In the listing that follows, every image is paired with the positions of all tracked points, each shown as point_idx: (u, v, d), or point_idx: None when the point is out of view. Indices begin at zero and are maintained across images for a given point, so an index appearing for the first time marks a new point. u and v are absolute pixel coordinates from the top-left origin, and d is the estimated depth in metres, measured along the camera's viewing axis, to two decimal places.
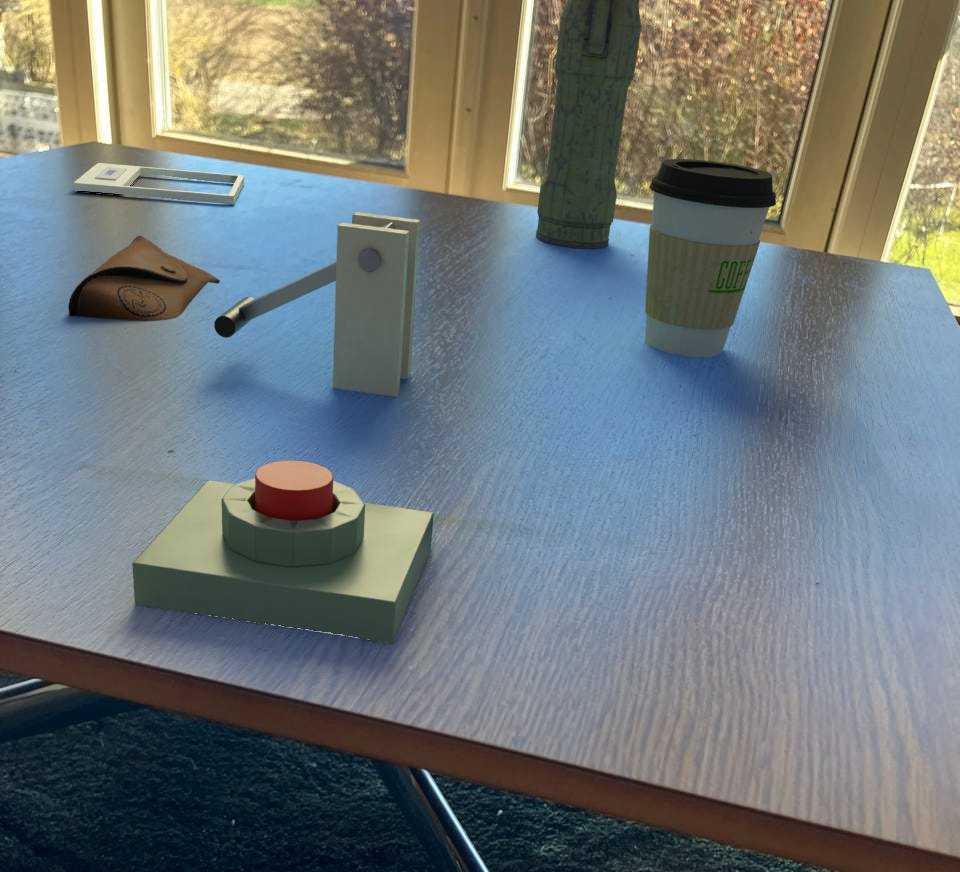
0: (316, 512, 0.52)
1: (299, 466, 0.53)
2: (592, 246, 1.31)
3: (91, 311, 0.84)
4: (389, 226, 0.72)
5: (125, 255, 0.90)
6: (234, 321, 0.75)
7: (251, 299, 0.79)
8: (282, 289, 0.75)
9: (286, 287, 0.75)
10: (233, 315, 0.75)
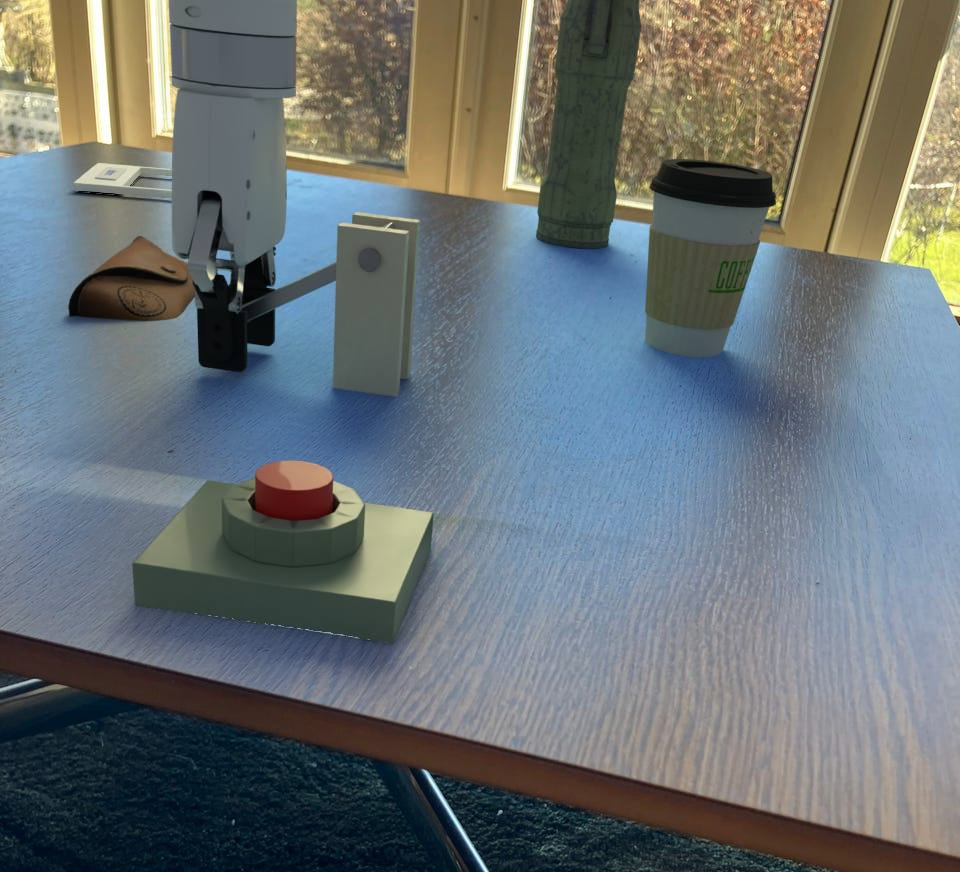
0: (316, 512, 0.52)
1: (299, 466, 0.53)
2: (592, 246, 1.31)
3: (91, 311, 0.84)
4: (389, 226, 0.72)
5: (125, 255, 0.90)
6: None
7: (251, 299, 0.79)
8: (282, 289, 0.75)
9: (286, 287, 0.75)
10: None
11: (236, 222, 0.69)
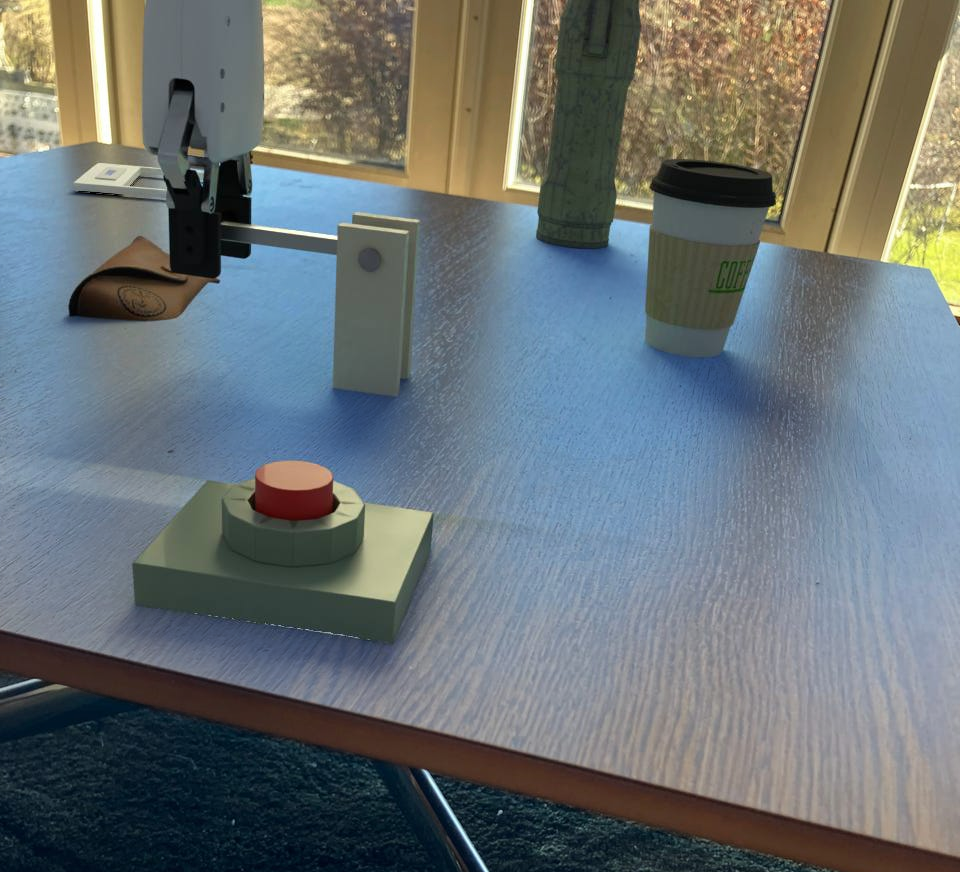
0: (316, 512, 0.52)
1: (299, 466, 0.53)
2: (592, 246, 1.31)
3: (91, 311, 0.84)
4: None
5: (125, 255, 0.90)
6: None
7: (233, 217, 0.76)
8: (271, 232, 0.73)
9: (276, 232, 0.73)
10: None
11: (210, 113, 0.66)
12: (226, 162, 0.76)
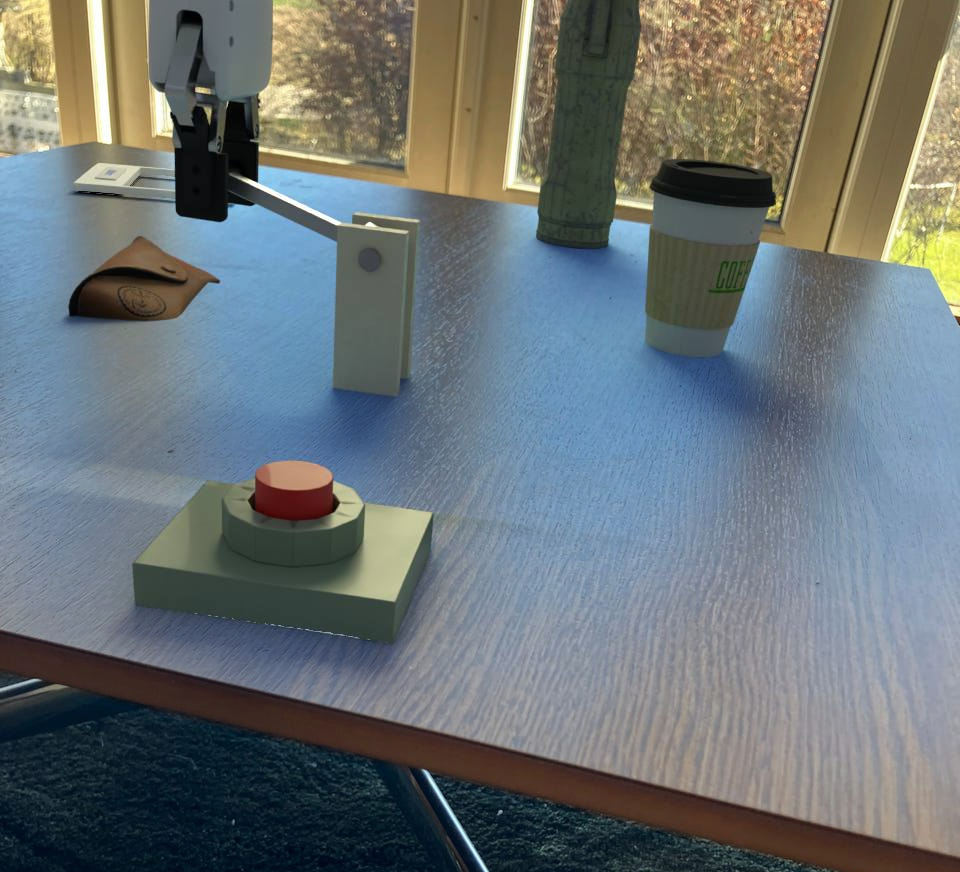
0: (316, 512, 0.52)
1: (299, 466, 0.53)
2: (592, 246, 1.31)
3: (92, 311, 0.84)
4: None
5: (125, 255, 0.90)
6: None
7: (242, 169, 0.74)
8: (278, 199, 0.72)
9: (283, 201, 0.72)
10: None
11: (218, 46, 0.64)
12: (233, 106, 0.74)
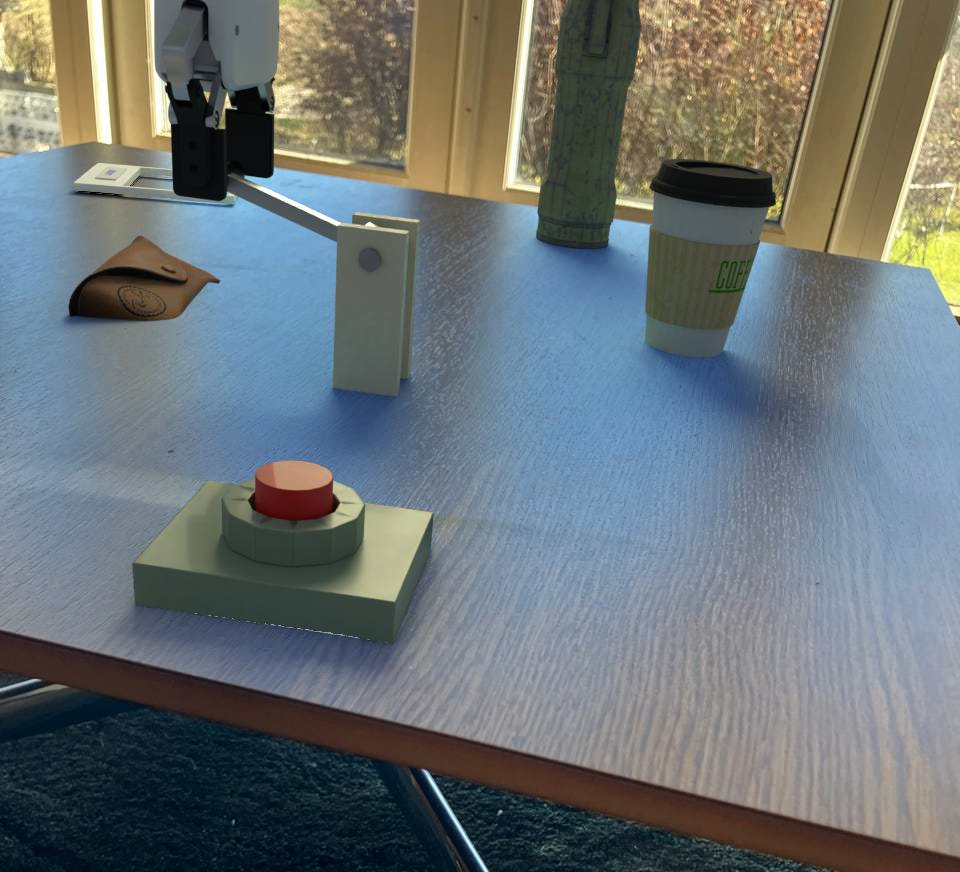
0: (316, 512, 0.52)
1: (299, 466, 0.53)
2: (592, 246, 1.31)
3: (92, 311, 0.84)
4: None
5: (125, 255, 0.90)
6: None
7: (242, 170, 0.74)
8: (278, 200, 0.72)
9: (283, 202, 0.72)
10: None
11: (224, 35, 0.64)
12: None
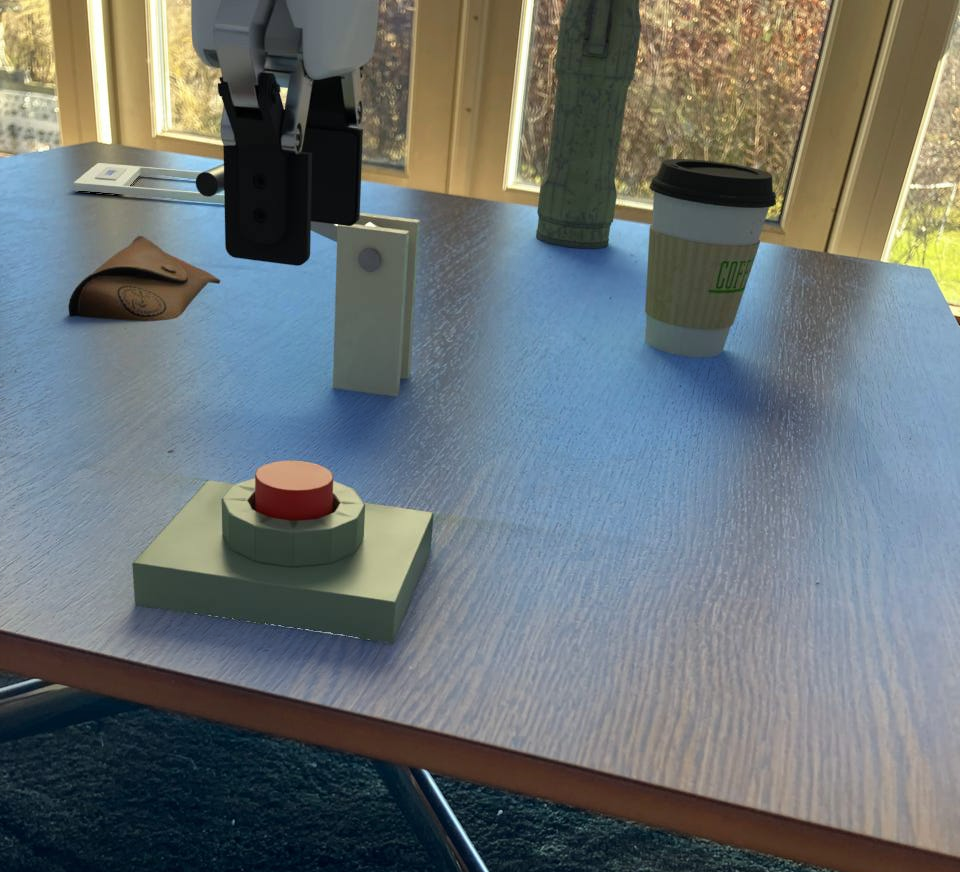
0: (316, 512, 0.52)
1: (299, 466, 0.53)
2: (592, 246, 1.31)
3: (92, 311, 0.84)
4: None
5: (125, 255, 0.90)
6: (219, 188, 0.70)
7: None
8: None
9: None
10: (221, 181, 0.71)
11: None
12: None
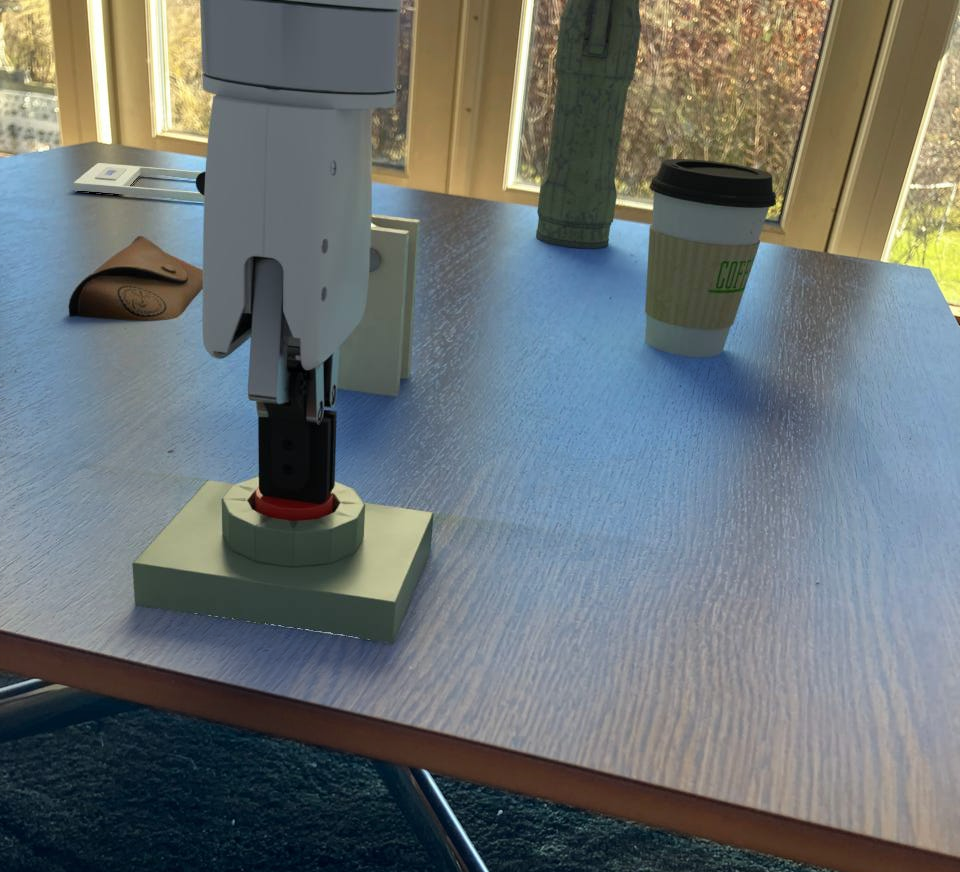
0: None
1: None
2: (592, 246, 1.31)
3: (92, 311, 0.84)
4: None
5: (125, 255, 0.90)
6: None
7: None
8: None
9: None
10: None
11: (306, 305, 0.43)
12: None
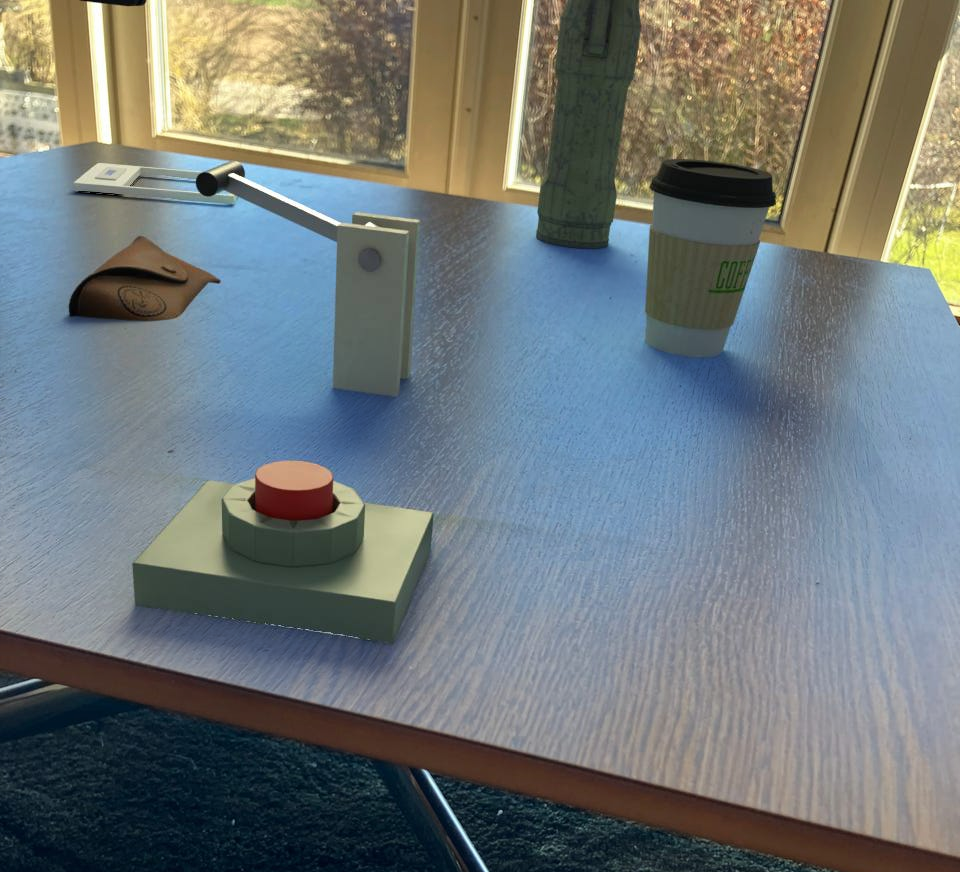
0: (316, 512, 0.52)
1: (299, 466, 0.53)
2: (592, 246, 1.31)
3: (92, 311, 0.84)
4: None
5: (126, 255, 0.90)
6: (219, 188, 0.70)
7: (242, 170, 0.74)
8: (278, 200, 0.72)
9: (283, 202, 0.72)
10: (221, 181, 0.71)
11: None
12: None
